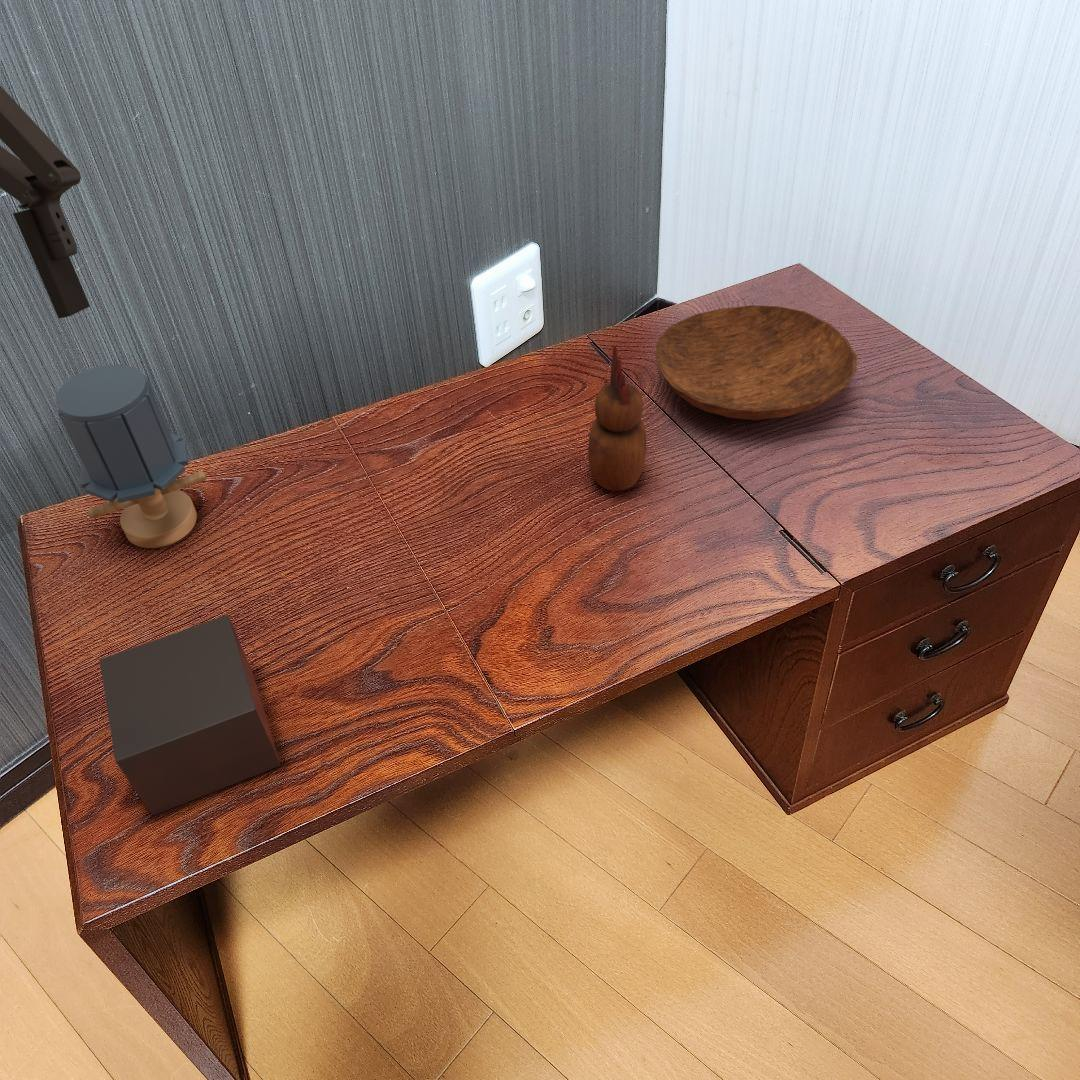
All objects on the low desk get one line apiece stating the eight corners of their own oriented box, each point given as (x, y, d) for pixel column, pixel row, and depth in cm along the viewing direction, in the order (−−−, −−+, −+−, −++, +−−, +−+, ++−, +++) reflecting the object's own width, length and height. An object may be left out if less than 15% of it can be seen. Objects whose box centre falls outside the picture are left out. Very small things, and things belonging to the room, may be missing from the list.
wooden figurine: (591, 455, 99) (593, 334, 88) (646, 458, 98) (654, 337, 87) (584, 498, 94) (585, 377, 83) (641, 502, 94) (649, 380, 83)
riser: (152, 816, 71) (115, 761, 65) (134, 716, 77) (98, 658, 72) (281, 766, 74) (256, 709, 68) (253, 673, 80) (228, 614, 74)
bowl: (879, 426, 101) (890, 389, 97) (686, 461, 98) (690, 424, 94) (802, 328, 114) (810, 292, 111) (631, 357, 111) (632, 320, 108)
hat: (60, 483, 87) (18, 406, 80) (133, 424, 93) (100, 348, 86) (138, 513, 84) (101, 435, 77) (208, 449, 89) (179, 372, 83)
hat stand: (110, 566, 90) (41, 437, 78) (97, 522, 94) (30, 394, 82) (226, 524, 93) (177, 395, 82) (208, 483, 98) (159, 356, 86)
